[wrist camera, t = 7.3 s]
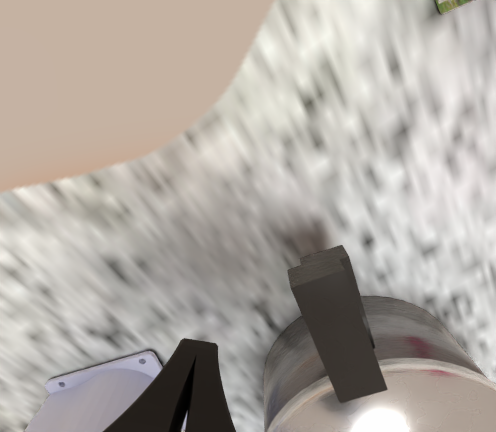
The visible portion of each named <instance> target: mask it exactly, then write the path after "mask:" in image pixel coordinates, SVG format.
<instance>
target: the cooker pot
mask: <svg viewBox="0 0 496 432" xmlns="http://www.w3.org/2000/svg"><path fill="white" fill-rule="evenodd" d="M334 253H336V254H337V256H338V258H339V260H340V261H341V263H342V265H343V267H344V269H345V272H346V275H347V277H348V280H349V283H350V286H351V288H352V291H353V294H354V297H355V300H356V302H357V305H358V308H359V311H360V314H361V316H362V319H363V322H364V325H365V327H366V330H367V333H368V336H369V339H370V341H371V344H372V347H373V350H374V352H375V355H376V358H377V360H384V359H394V358H420V359H432V360H437V361H443V362H448V363H452V364H455V365H458V366H462V367H465V368H468V369H470V370H472V371H474V372H476V373H479V374H481V375H483V376H484V377H486V376H485V375H484V374H483V373H482V371H481V370H480V369H479V368H478V367H477V365H476V364H475V363H474V362H473V360H472V359H471V358H470V357H469V356H468V354H467V353H466V352H465V351H464V350H463V348H462V347H461V346H460V345H459V344H458V342H457V341H456V340H455V339H454V338H453V336H452V335H451V334H450V333H449V332H448V330H447V329H446V328H445V327H444V326H443V325H442V324H441V323H440V322H439V321H438V320H437V319H436V318H435V317H434V316H432V315H431V314H429V313H428V312H427V311H425V310H423V309H421V308H419V307H417V306H415V305H413V304H410V303H407V302H405V301H401V300H397V299H393V298H387V297H378V296H361V297H360V293H359V290H358V286H357V283H356V279H355V276H354V273H353V269H352V266H351V262H350V259H349V256H348V254H347V253H346V251H345V249H344V247H343V246H342V245H341V246H337V247H334V248H331V249H328V250H324V251H321V252H318V253H315V254H312V255H308V256H305V257H302V258H300V261H301V265H303V264H306V263H309V262H312V261H315V260H317V259H320V258H323V257H326V256H329V255H332V254H334ZM326 376H328V374H327V372H326V370H325V367H324V365H323V363H322V360H321V358H320V356H319V353H318V351H317V348H316V346H315V344H314V341H313V339H312V337H311V334H310V332H309V330H308V327H307V325H306V323H305V320H304V318H303V316H301V317H300V318H298V319H297V320H296V321H294V322H293V323H292V324H291V325H290V326H288V327H287V328H286V329H285V331H284V332H283V333H282V334H281V335H280V336H279V337H278V339H277V340H276V342H275V343H274V344H273V346H272V348H271V350H270V352H269V354H268V357H267V360H266V363H265V367H264V374H263V385H264V426H265V432H267V430H268V428H269V426H270V424H271V423H272V421H273V420H274V418H275V417H276V415H277V414H278V413H279V411H280V410H281V409H282V408H283V407H284V406H285V405H286V404H287V403H288V402H289V401H290V400H291V399H292V398H293V397H294V396H296V395H297V394H298V393H299V392H301V391H302V390H303V389H305V388H306V387H308V386H309V385H311V384H313V383H314V382H316V381H317V380H319V379H322V378H324V377H326ZM486 378H487V377H486Z"/></svg>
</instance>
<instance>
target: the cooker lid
mask: <svg viewBox="0 0 496 432" xmlns="http://www.w3.org/2000/svg"><path fill="white" fill-rule="evenodd" d="M288 275H289V281H290V286H291V290H292V292H293V294H294V297H295V299H296V301H297V304H298V306H299V308H300V311H301V313H302V316H303V318H304V320H305V323H306V325H307V327H308V330H309V332H310V334H311V337H312V339H313V341H314V344H315V346H316V348H317V351H318V353H319V356H320V358H321V360H322V363H323V365H324V367H325V370H326V372H327V374H328V376H326V377H324V378H322V379H319V380H317V381H316V382H314V383H313V384H311V385H309V386H308V387H306V388H305V389H303V390H302V391H301V392H299V393H298V394H297V395H296V396H294V397H293V398H292V399H291V400H290V401H289V402H288V403H287V404H286V405H285V406H284V407H283V408H282V409H281V410H280V411H279V413H278V414H277V415H276V417H275V418H274V420H273V421H272V423H271V424H270V426H269V428H268V430H267V432H496V384H495V383H494V382H492V381H491V380H489V379H487V378H486V377H484V376H483V375H481V374H479V373H476V372H474V371H472V370H470V369H468V368H465V367H462V366H458V365H455V364H452V363H448V362H443V361H437V360H432V359H420V358H394V359H384V360H377V358H376V355H375V352H374V350H373V347H372V344H371V341H370V339H369V336H368V333H367V330H366V327H365V325H364V322H363V319H362V316H361V314H360V311H359V308H358V305H357V302H356V300H355V297H354V294H353V291H352V288H351V286H350V283H349V280H348V277H347V275H346V272H345V269H344V267H343V265H342V263H341V261H340V260H339V258H338V256H337V254H336V253H334V254H332V255H329V256H326V257H323V258H320V259H317V260H315V261H312V262H309V263H306V264H303V265H300V266H297V267H295V268H292V269H289V270H288Z"/></svg>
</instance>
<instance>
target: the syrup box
mask: <svg viewBox="0 0 496 432" xmlns="http://www.w3.org/2000/svg"><path fill="white" fill-rule="evenodd" d="M435 1H436V3H437V6H438V8H439V11H440V13H441V14H445V13H448V12H450V11H452V10H455V9H457V8H459V7H461V6H464V5H466V4H468V3H470V2H473V1H475V0H435Z"/></svg>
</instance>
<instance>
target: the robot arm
mask: <svg viewBox="0 0 496 432" xmlns="http://www.w3.org/2000/svg"><path fill="white" fill-rule="evenodd" d="M142 359H144V360H142ZM63 382H64V383H63ZM45 388H46V390H47V391H48V393H49V394H50V395H49V396H48V398H47V399H46V400H45V402H44V403H43V405H42V406H41V408H40V409H39V410H38V412H37V413H36V415H35V416H34V418H33V419H32V420H31V422H30V423H29V425H28V426H27V428H26V429H25V430H24V432H181V431H182V430H185V432H236V430H235V428H234V425H233V422H232V419H231V416H230V413H229V409H228V406H227V402H226V399H225V395H224V391H223V386H222V381H221V376H220V371H219V363H218V346H217V344H216V343H210V342H204V341H198V340H192V339H185V338H184V339H182V340H181V341H180V343H179V345H178V347H177V349H176V350H175V352H174V353H173V355H172V356H171V358H170V359H169V361H168V362H167V363H166V365H165V366H164V367H162V366H161V364H160V362H159V360H158V358H157V357H156V355H155V354H154V353H153V352H151V351H146V352H143V353H140V354H136V355H133V356H129V357H126V358H122V359H119V360H115V361H112V362H108V363H105V364H102V365H98V366H95V367H91V368H88V369H84V370H81V371H77V372H74V373H70V374H67V375H64V376H60V377H57V378H53V379H50V380H48V381H47V383H46V384H45ZM187 410H188V411H187Z"/></svg>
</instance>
